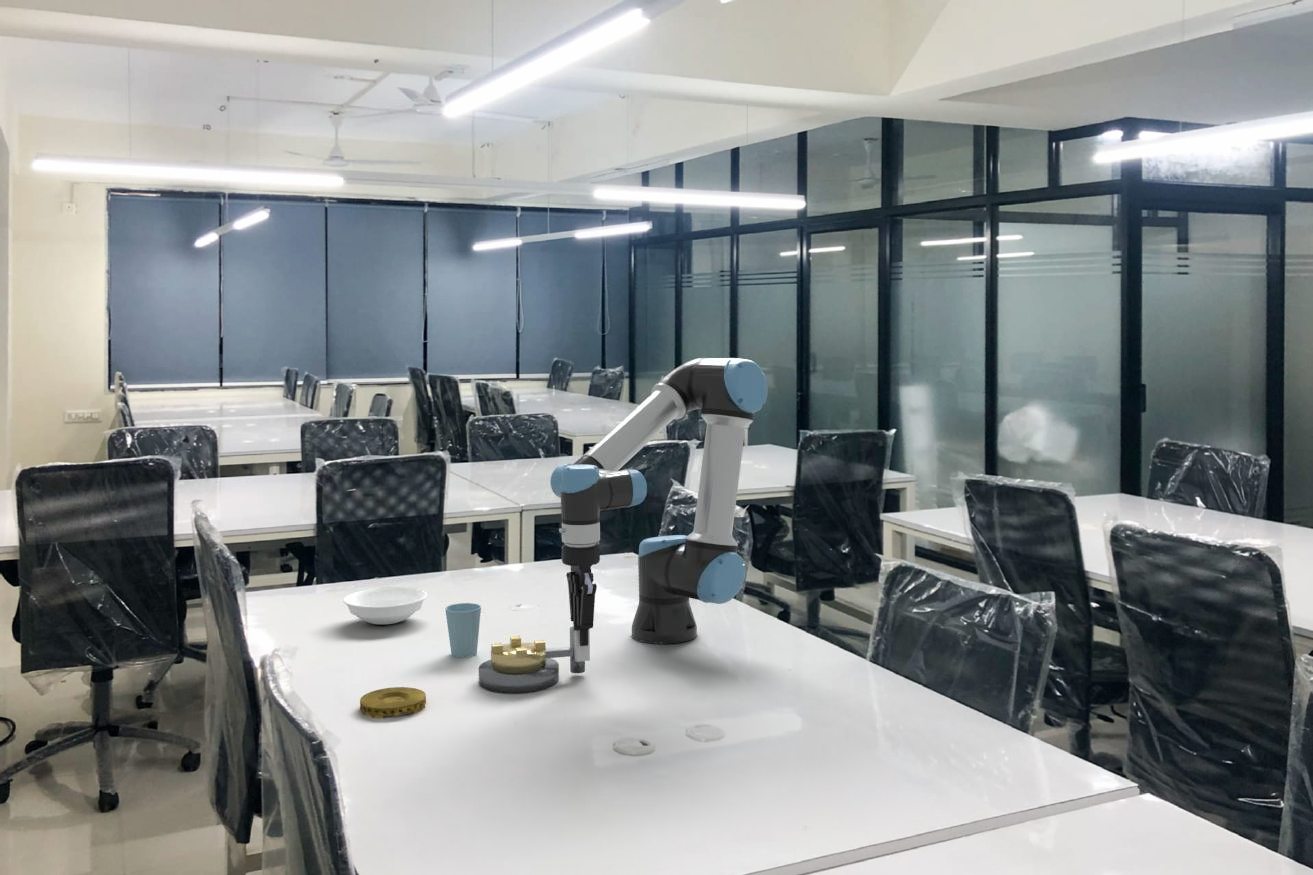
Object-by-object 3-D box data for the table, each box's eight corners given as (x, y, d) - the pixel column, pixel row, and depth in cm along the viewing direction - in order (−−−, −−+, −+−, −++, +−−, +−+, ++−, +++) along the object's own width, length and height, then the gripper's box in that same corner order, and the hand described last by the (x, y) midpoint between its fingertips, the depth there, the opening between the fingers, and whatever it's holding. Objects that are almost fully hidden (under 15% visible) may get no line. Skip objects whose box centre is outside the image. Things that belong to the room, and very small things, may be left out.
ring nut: (494, 686, 211) (493, 641, 210) (488, 670, 221) (487, 627, 220) (590, 678, 215) (589, 634, 215) (579, 662, 226) (579, 620, 225)
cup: (486, 656, 234) (485, 609, 233) (451, 660, 231) (449, 613, 230) (477, 647, 241) (476, 601, 240) (443, 651, 238) (441, 605, 237)
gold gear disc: (356, 703, 206) (355, 692, 205) (419, 694, 210) (419, 683, 210) (365, 723, 195) (365, 711, 194) (431, 714, 199) (431, 702, 199)
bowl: (390, 607, 277) (390, 583, 276) (444, 619, 265) (444, 594, 264) (326, 624, 261) (325, 599, 260) (381, 638, 249) (380, 610, 248)
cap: (551, 665, 227) (551, 650, 227) (565, 689, 212) (565, 672, 211) (475, 672, 223) (474, 656, 223) (483, 697, 208) (482, 679, 207)
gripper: (553, 539, 218) (555, 653, 220) (571, 551, 205) (573, 671, 208) (589, 536, 220) (590, 649, 223) (608, 548, 208) (610, 667, 210)
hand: (582, 659), depth 215 cm, fingers closed
